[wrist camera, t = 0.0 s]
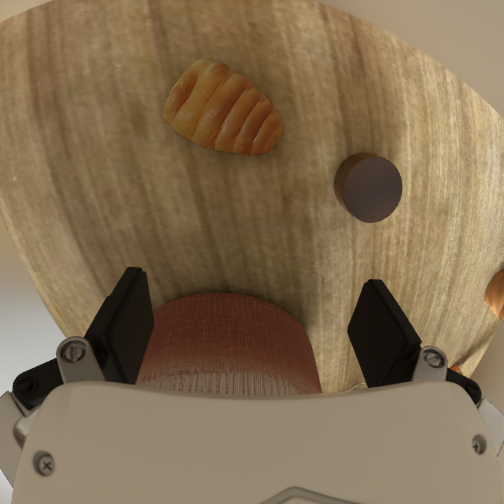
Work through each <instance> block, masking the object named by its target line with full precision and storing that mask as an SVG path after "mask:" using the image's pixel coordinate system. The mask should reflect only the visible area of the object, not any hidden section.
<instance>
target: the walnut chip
mask: <svg viewBox="0 0 504 504" xmlns="http://www.w3.org/2000/svg"><path fill="white" fill-rule="evenodd" d="M334 188H335V194H336V197H337V199H338V201H339V202H340V204H341V205H342V206H343V207H344V208H345V209H346V210H347V211H348V212H349V213H350V214H351V215H352V216H353V217H354V218H356V219H357V220H359V221H362V222H367V223H374V222H378V221H381V220H383V219H385V218H387V217H388V216H389V215H390V214H391V213H392V212H393V211H394V210H395V209H396V207H397V206H398V204H399V202H400V199H401V195H402V180H401V176H400V173H399V172H398V170H397V168H396V167H395V166H394V165H393V164H392V163H391V162H390V161H388V160H386V159H384V158H382V157H379V156H376V155H374V154H371V153H357V154H354V155H352V156H350V157H348V158H347V159H346V160H345V161H344V162H343V163H342V164H341V165H340V167H339V169H338V171H337V173H336V176H335V181H334Z"/></svg>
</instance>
